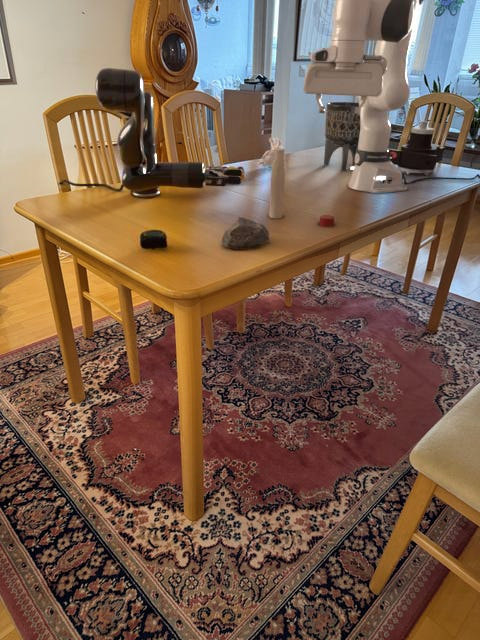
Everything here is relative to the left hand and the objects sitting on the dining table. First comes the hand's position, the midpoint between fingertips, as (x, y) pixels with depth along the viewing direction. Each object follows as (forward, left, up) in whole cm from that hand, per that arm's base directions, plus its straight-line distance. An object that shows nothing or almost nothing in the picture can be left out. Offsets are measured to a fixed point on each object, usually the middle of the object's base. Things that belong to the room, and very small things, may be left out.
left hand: (241, 176), depth 138 cm
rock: (+13, -22, -12) cm, 29 cm away
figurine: (-20, +70, -12) cm, 74 cm away
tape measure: (-6, -37, -12) cm, 39 cm away
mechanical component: (+41, +101, -12) cm, 110 cm away
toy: (-23, +38, -12) cm, 46 cm away
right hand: (+27, +4, +19) cm, 33 cm away
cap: (+27, +5, -10) cm, 29 cm away
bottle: (+10, +4, -12) cm, 16 cm away
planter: (+8, +89, -12) cm, 91 cm away
